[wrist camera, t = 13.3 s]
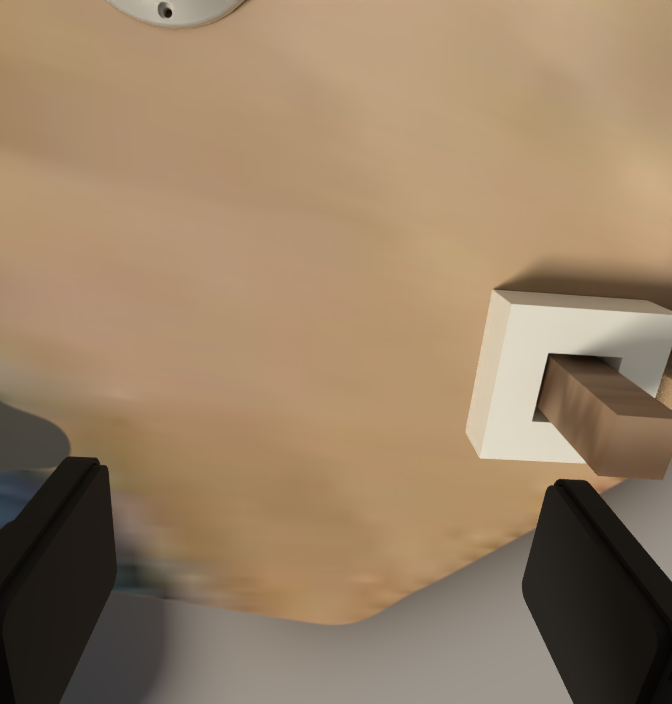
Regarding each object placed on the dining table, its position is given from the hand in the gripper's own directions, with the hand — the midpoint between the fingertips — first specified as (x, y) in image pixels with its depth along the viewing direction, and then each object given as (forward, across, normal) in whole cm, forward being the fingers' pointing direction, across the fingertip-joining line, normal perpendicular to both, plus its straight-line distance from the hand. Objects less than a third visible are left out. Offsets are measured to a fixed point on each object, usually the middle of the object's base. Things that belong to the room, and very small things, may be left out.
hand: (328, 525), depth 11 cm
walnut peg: (+28, -19, +7) cm, 35 cm away
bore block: (+28, -19, +7) cm, 35 cm away
